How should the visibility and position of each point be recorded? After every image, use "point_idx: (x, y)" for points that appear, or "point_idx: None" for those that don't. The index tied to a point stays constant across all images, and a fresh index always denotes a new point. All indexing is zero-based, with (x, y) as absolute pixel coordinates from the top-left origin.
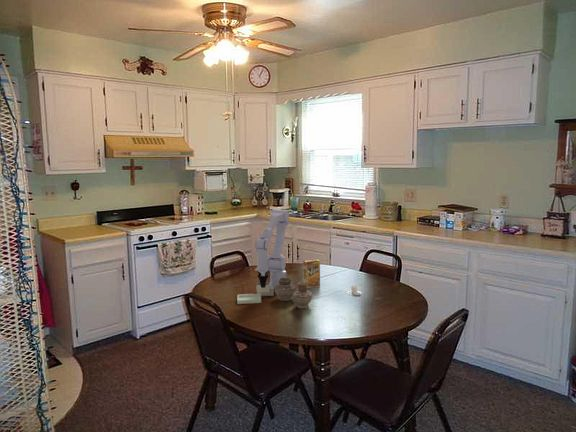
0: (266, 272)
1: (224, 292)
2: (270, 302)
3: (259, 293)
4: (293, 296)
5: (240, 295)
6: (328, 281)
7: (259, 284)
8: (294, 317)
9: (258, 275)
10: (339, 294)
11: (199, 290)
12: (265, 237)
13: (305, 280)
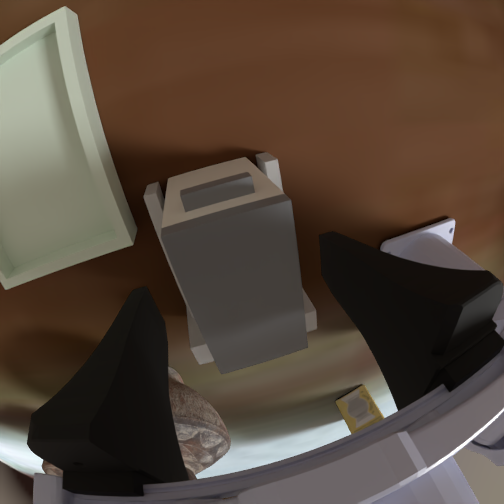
0: (396, 395)
1: None
2: (53, 326)
3: (154, 221)
4: (46, 461)
5: (59, 38)
6: (393, 409)
7: (177, 272)
8: None
9: (43, 448)
10: (256, 465)
11: None
12: None
13: (357, 424)
